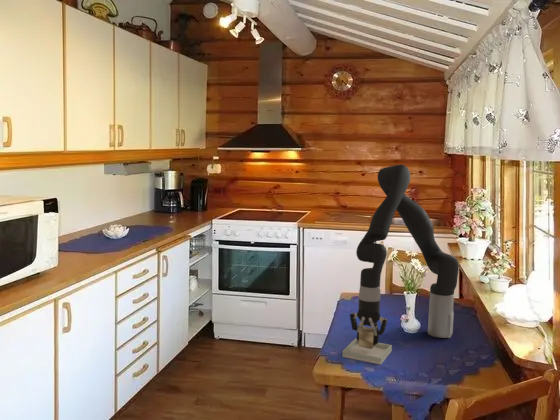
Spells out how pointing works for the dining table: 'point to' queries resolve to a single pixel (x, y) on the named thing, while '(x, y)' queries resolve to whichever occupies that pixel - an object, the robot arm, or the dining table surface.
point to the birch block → (366, 338)
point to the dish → (367, 352)
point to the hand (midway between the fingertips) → (367, 343)
